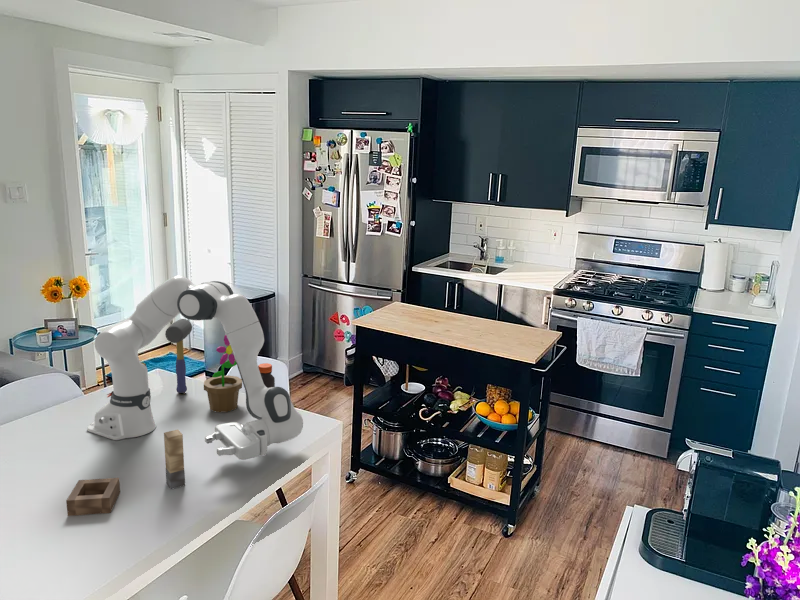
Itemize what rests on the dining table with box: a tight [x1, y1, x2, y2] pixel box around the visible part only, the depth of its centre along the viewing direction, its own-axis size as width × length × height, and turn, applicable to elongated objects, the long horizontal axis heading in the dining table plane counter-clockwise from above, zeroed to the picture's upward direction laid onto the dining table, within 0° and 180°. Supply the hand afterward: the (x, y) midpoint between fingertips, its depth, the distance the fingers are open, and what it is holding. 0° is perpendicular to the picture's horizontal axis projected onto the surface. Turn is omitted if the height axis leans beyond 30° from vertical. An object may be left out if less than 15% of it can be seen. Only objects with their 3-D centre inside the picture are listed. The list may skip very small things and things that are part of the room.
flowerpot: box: [203, 334, 243, 413], centre depth 228 cm, size 14×14×30 cm
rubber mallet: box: [165, 318, 193, 394], centre depth 240 cm, size 12×8×30 cm, turn 1°
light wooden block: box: [163, 429, 186, 490], centre depth 175 cm, size 4×4×16 cm
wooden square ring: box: [65, 477, 121, 517], centre depth 165 cm, size 10×10×4 cm
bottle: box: [257, 362, 276, 388], centre depth 223 cm, size 7×7×20 cm
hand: (211, 446), depth 181 cm, fingers open, 8 cm apart
